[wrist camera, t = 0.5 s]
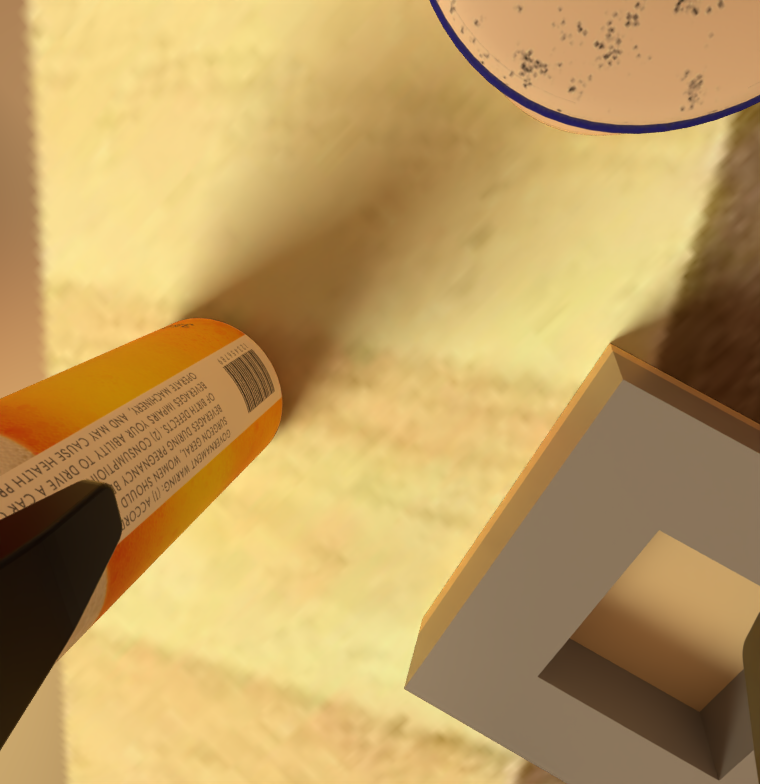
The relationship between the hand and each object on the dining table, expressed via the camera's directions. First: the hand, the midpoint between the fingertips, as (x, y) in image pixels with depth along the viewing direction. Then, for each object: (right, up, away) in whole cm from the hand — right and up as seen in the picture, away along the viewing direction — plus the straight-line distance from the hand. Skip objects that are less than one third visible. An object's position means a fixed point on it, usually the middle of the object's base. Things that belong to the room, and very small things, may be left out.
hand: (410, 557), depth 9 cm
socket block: (+10, -5, +16) cm, 19 cm away
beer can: (-7, +3, +17) cm, 19 cm away
